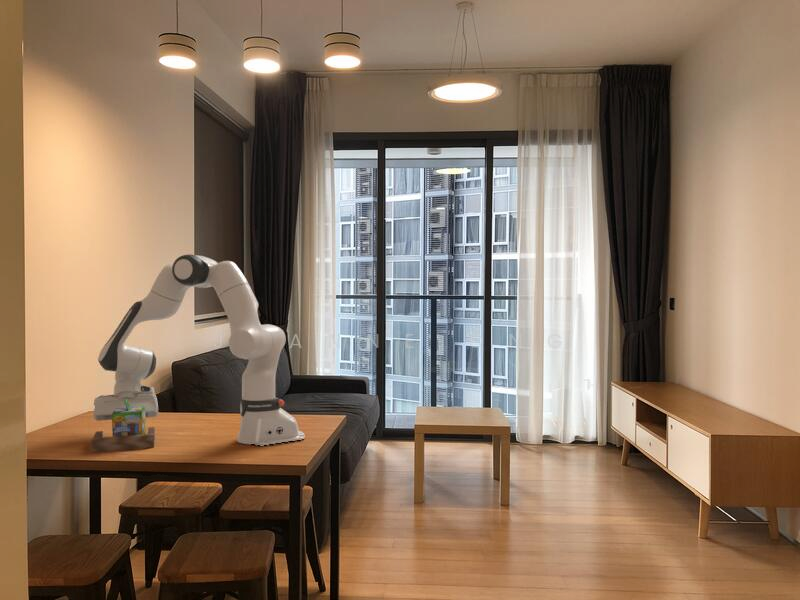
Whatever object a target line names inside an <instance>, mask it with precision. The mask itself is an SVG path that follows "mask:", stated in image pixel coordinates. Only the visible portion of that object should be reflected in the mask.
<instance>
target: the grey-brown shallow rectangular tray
mask: <svg viewBox="0 0 800 600" xmlns="http://www.w3.org/2000/svg"><path fill="white" fill-rule="evenodd" d="M155 430H156V428H155V427H154V426H152V427H151V426H149V427H148V428H147V433H146V434H142V435H130V436H117V437H113V436H109V437H108V436H107V437H104V435H103V433H104V432H103V430H99V431H95V433H94V435H93V436H92V438H91V453H92V452H94V453H103V451H106V452H115V451H116V450H117V451H126V450H139V449H148V448H147V447H151V448H155V442H154V441H155V440H156V437H155V436H156V435H155V433H156V431H155Z"/></svg>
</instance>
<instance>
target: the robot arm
mask: <svg viewBox="0 0 800 600" xmlns="http://www.w3.org/2000/svg"><path fill="white" fill-rule="evenodd" d="M191 287H194V288H198V289H214V290H215V292H216V295H217V297H218V299H219V301H220V303H221V305H222V307H223V309H224V310H223V311H224V312H225V314H226V316H227V319H228V322H229V328H230V336H229V339H228V347H229V350H230V352H231V353H232V355H233V356H235V358H238V359H241V360H242V359H243V360H248V362H247V365H246V368H245V370H244V371H243V373H242V375H241V376H242V377H241V398H240V405H239V409H240V410H239V411H240V413H239V414H240V415H241V417H240V426H239V432H238V436H237V439H236V441H237V443H239V444H244V445H251V444H255V445H254V446H258V445H260V446H259V447H265V446H264V445H267V446H270V445H269V444H274V445H276V444H275V443H281V442H288V441H295V440H301V439H304V438H306V435H305V433H304V432H303V431H301V430H299V426H298V421H297V420H296V418H295V417H294V416H293V415H292V414H290V413H289V412H287V411H286V410H284V409H283V408H281V407H284V405H285V401H284V400H283V399H281V398H279V397H276V377H277V368H278V364H279V360H280V355H281V352H282V350H283V348H284V347H285V344H286V343H287V342H286V340H287V339H286V338H287V336H286V334H285V332H284V330H283V329H282V328H281V327H279V326H277V325H273V324H269V323H268V324H267V323H266V324H265V323H264V324H261V321H260V318H259V313H258V309H259V302H258V299H257V297H256V296H255V294H254V292H253V290H252V287H251V286H250V284H249V282H248V279H247V278H246V277H245V274H243V272H242V270H241V269H240V268H239V266H238V265H237V264H236V263H235V262H234V261H231V260H223V261H218V260H217V259H214V258H210V257H207V256H203V255H198V254H191V253H190V254H188V253H187V254H184V255H181V256H179V257H177V258H176V259H175V260H174V261H173V264H167V265H165V266H164V267H163V268H162V269H161V271H159V273H158V274H157V277H156V279H155V281H154V283H153V284H152V286H151V289H150V291H149V292H148V294H147V295H146V296H145V297H144V298H143V299H141V300H139V301H136V302H134V303H133V304H132V305H131V306H130V308H129V309H128V311H127V312H126V314H125V315H124V316H123V318H122V320H121V321H120V322H119V324H118V325H117V327H116V329H115V331H114V332H113V334H111V336H110V338H109V339H108V340H107V342H106V343H105V344H104V345H103V347H102V348H101V350H100V351H99V355H98V357H97V359H98V360H97V361H98V362H99V363H98V364H99V365H100V366H101V367H102V369H103V370H104V371H107V372H108V371H109V372H114V373H115V374H114V380H115V384H114V386H113V394H107V395H105V394H104V395H103V394H102V395H99V396H97V397H95V398H94V400H93V405H94V406H93V407H94V408H93V419H94V420H95V421H96V422H97V421H98V422H99V421H110V420H111V421H112V413H113V412H114V411H115V410H116V409H117V408H126V405H125V400H126V399H128V402H129V405H130V407H145V418H155V417H157V416H158V414H159V405H158V403H159V402H158V398H157V395H155V394H156V393H155V388H154V387H153V386H149V385H144V384H142V381H144V380H147V378H149V377H150V376H151V375H153V373H154V372H155V370H156V367H157V357H156V355H155V353H154V351H153V350H150V349H146V348H143V347H138V346H137V347H136V346H134V345H133V346H132V345H129V344H125V343H126V341H127V340H128V338H129V336H130V335H131V333H132V331H133V330H134V328H135V327H136V326H137V325H139V324H141V323H143V322H150V321H162V320H165V319H169V318H171V317H173V316H175V315H176V314H177V312H178V311H179V309H180V307H181V305H182V302H183V300H184V299H185V295H186V293H187V291H188V289H190V288H191ZM127 406H128V404H127ZM304 440H305V439H304ZM301 441H302V440H301ZM295 442H296V441H295ZM288 443H289V442H288ZM281 444H282V443H281Z"/></svg>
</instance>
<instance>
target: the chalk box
mask: <svg viewBox="0 0 800 600" xmlns="http://www.w3.org/2000/svg"><path fill="white" fill-rule="evenodd" d="M127 404H128V406H127ZM125 405H126V408H117V409H116V410H115V411H114V412H113V413H112V420H111V425H112V426H111V427H112V437H117V436H130V435H142V434H147V433H146V417H145V407H130V405H129V402H128V399H126V400H125Z"/></svg>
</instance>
